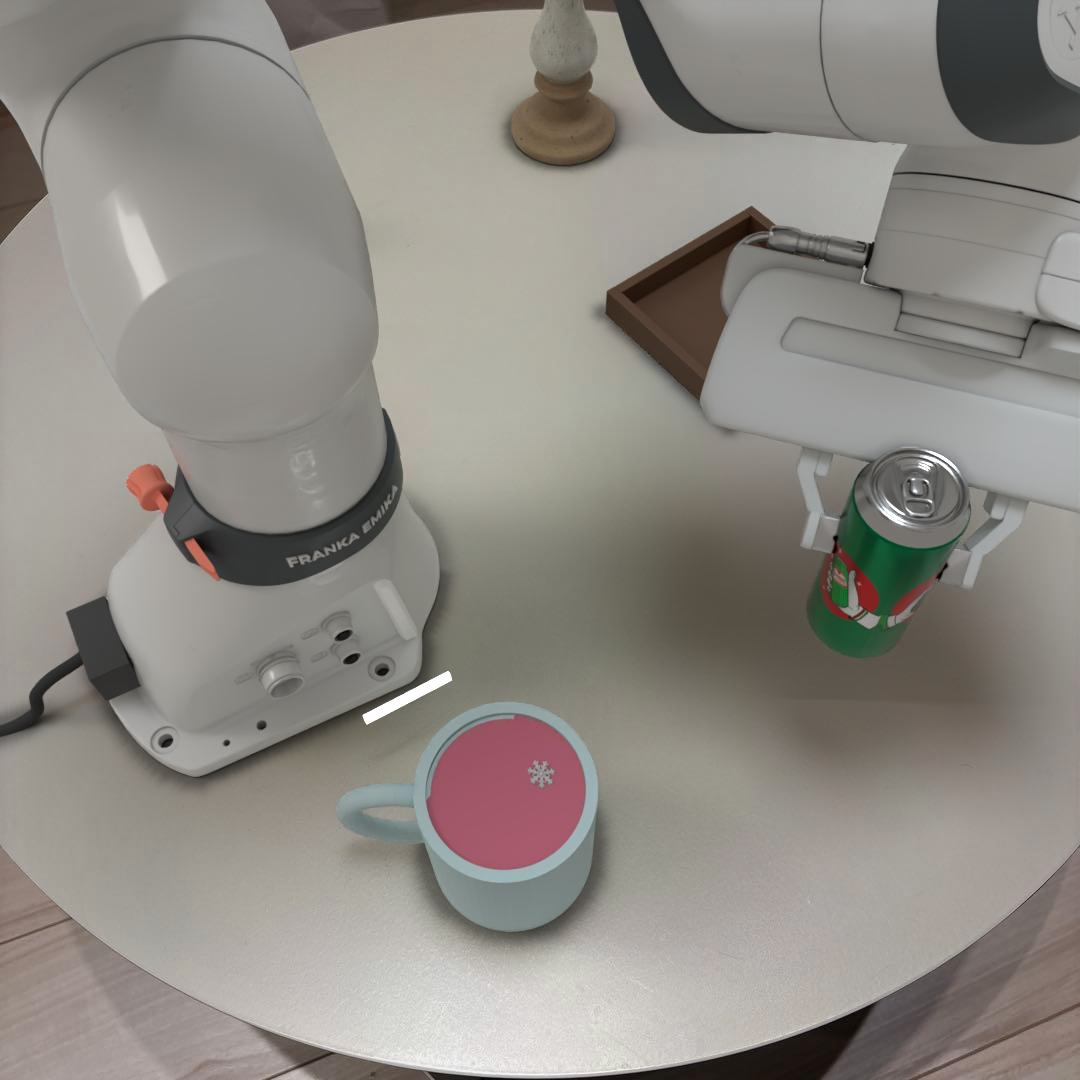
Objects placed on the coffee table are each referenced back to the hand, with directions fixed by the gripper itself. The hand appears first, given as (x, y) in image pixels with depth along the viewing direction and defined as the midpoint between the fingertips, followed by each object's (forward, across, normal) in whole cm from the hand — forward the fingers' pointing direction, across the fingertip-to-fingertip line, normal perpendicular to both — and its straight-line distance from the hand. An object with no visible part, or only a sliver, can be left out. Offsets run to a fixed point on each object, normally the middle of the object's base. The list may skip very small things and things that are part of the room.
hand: (884, 566), depth 53 cm
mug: (+23, -17, +4) cm, 29 cm away
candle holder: (-20, -30, +47) cm, 59 cm away
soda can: (+4, 0, +5) cm, 7 cm away
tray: (-8, -11, +35) cm, 37 cm away
